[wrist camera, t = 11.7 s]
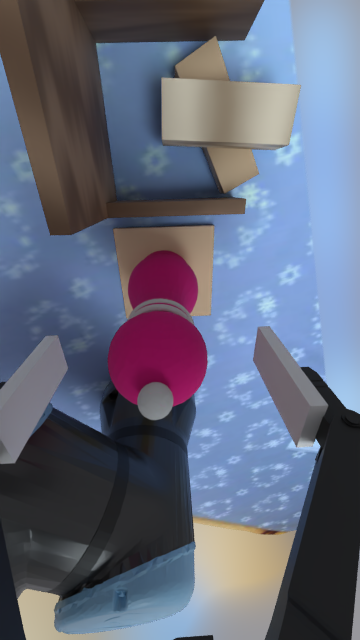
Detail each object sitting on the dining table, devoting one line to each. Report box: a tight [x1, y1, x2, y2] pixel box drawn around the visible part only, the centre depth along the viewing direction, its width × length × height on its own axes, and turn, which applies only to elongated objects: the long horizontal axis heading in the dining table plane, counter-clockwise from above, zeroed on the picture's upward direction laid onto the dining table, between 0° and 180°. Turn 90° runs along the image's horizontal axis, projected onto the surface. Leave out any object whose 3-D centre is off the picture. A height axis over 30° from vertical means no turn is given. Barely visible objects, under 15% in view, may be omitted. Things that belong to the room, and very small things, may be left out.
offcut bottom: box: [175, 36, 259, 194], centre depth 22 cm, size 10×4×3 cm, turn 28°
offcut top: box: [161, 78, 301, 150], centre depth 19 cm, size 10×4×3 cm, turn 88°
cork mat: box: [113, 225, 214, 318], centre depth 29 cm, size 11×11×1 cm
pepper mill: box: [108, 250, 207, 420], centre depth 20 cm, size 7×7×20 cm
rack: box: [0, 0, 264, 235], centre depth 16 cm, size 14×14×14 cm
